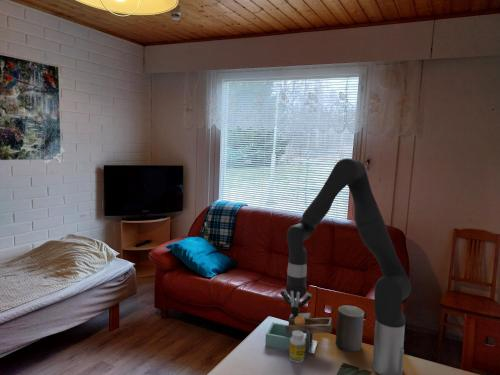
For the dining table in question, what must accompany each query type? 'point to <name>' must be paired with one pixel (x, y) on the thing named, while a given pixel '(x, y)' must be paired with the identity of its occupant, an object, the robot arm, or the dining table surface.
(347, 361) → the dining table surface
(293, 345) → the supplement bottle
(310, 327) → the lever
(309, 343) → the stand
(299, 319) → the ball
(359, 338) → the pillar candle
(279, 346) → the green open box
